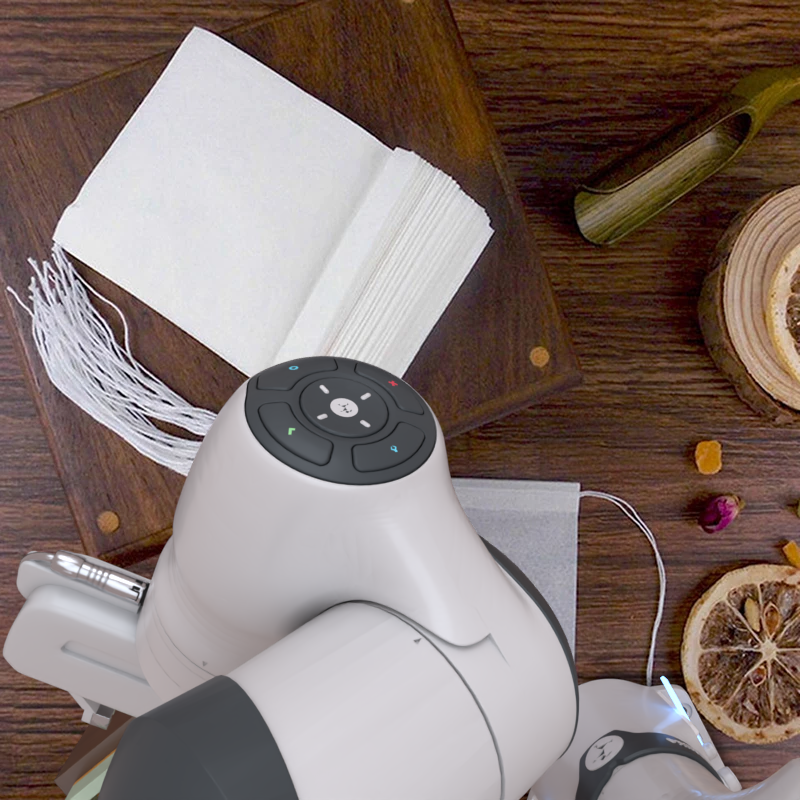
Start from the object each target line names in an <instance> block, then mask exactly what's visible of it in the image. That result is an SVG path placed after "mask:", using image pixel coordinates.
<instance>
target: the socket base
mask: <svg viewBox="0 0 800 800" xmlns="http://www.w3.org/2000/svg"><path fill="white" fill-rule="evenodd" d="M115 751H116V749H115V750H114V751H113V752H111V753H110V754H109V755H108V756H106V757H105V758H104V759H103V760H101V761H100V762H99V763H98V764H97V765H95V766H94V767H93V768H92V769H90V770H89V771H88V772H87V773H86V774H84V775H83V776H82V777H81V778H79V779H78V780H77V781H76V782H75V783H74V785H73V787H72V788H71V790H70V792H69V794H68V795H67V796H66V797H65V798H64V800H97V799H98V796H99V793H100V790H101V786H102V783H103V780H104V778H105V775H106V772H107V770H108V767H109V765H110V762H111V760H112V758H113V755H114V753H115Z"/></svg>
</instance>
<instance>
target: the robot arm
mask: <svg viewBox="0 0 800 800" xmlns="http://www.w3.org/2000/svg"><path fill="white" fill-rule="evenodd" d="M449 467H450V466H449V460H448V453H447V447H446V441H445V436H444V432H443V429H442V427H441V424H440V421H439V419H438V418H437V416H436V414H435V412H434V411H433V409H432V407H431V406H430V405H429V403H428V402H427V401H426V400H425V398H424V397H423V396H422V395H421V394H420V393H419V392H418V391H416V389H414V388H413V387H412V386H411V385H410V384H409V383H408V382H407V381H405V380H403V379H402V378H400V377H399V376H397V375H395V374H394V373H392V372H390V371H389V370H386V369H384V368H382V367H380V366H377V365H375V364H373V363H368V362H365V361H362V360H358V359H354V358H349V357H343V356H334V355H316V356H315V355H313V356H305V357H304V356H303V357H298V358H293V359H289V360H287V361H284V362H280V363H277V364H274V365H272V366H269V367H266V368H265V369H262V370H260V371H258V372H257V373H255V374H254V375H252V376H251V377H249V378H248V379H246V380H245V381H244V382H243V383H242V384H241V385H240V386H239V387H238V388H237V389H236V390H235V391H234V392H233V394H232V395H231V396H230V397H229V399H228V400H227V401H226V402H225V403H224V404H223V406H222V408H220V410H219V412H218V413H217V415H216V417H215V418H214V420H213V422H212V423H211V425H210V426H209V428H208V430H207V431H206V434H205V436H204V437H203V440H202V442H201V443H200V446H199V448H198V450H197V452H196V453H195V456H194V458H193V460H192V463H191V465H190V468H189V470H188V473H187V475H186V477H185V480H184V483H183V486H182V489H181V492H180V495H179V498H178V500H177V504H176V508H175V511H174V516H173V521H172V522H173V523H172V534H171V536H169V538H168V540H167V542H166V543H165V545H164V547H163V549H162V551H161V553H160V554H159V557H158V560H157V562H156V565H155V568H154V571H153V574H152V577H151V579H150V578H146V577H144V576H141V575H140V574H137V573H135V572H132V571H129V570H127V569H125V568H122V567H119V566H117V565H114V564H112V563H109V562H106V561H104V560H101V559H100V558H98V557H97V558H96V557H93V556H90V555H86V554H83V553H77V552H74V551H70V550H65V549H58V550H57V551H56V552H55V553H52V552H46V551H37V550H31V551H29V552H27V554H25V555H24V556H23V557H22V558H21V559H20V561H19V563H18V570H17V577H16V587H17V589H18V590H17V591H19V594H21V596H22V597H23V598H24V599H25V601H24V603H23V605H22V607H21V608H20V610H19V612H18V613H17V615H16V617H15V618H14V620H13V622H12V624H11V626H10V629H9V631H8V633H7V635H6V637H5V641H4V643H3V644H4V645H3V648H2V656H3V658H4V660H5V661H6V662H7V663H8V664H9V665H10V666H11V667H12V669H13V670H14V671H16V672H18V673H19V674H20V675H21V674H22V675H24V676H26V677H28V678H31V679H34V680H37V681H39V682H42V683H45V684H47V685H50V686H53V687H55V688H58V689H60V690H63V691H65V692H68V693H69V695H70V696H71V697H72V698H73V700H74V701H75V702H76V703H77V704H78V706H79V707H80V708H81V709H82V710H83V714H82V716H81V722H83V723H87V724H88V725H89V724H91V725H94V726H97V727H99V728H102V729H105V730H106V729H107V728H108V726H109V723H110V721H111V719H112V715H114V713H115V710H118V711H121V712H123V713H126V714H128V715H131V716H134V717H136V718H135V719H133V720H132V721H131V722H130V723H129V725H128V726H127V728H126V730H125V732H124V734H123V736H122V738H121V740H120V742H119V744H118V746H117V748H116V751H115V753H114V755H113V758H112V760H111V762H110V765H109V767H108V770H107V772H106V775H105V778H104V780H103V783H102V786H101V790H100V793H99V796H98V799H97V800H520V799H521V798H522V797H524V795H525V794H526V793H528V795H527V798H526V800H800V757H797V758H792V759H789V761H787V762H786V763H785V764H784V765H782V767H780V768H779V769H778V770H776V771H775V772H774V773H773V774H771V775H770V776H769V777H767V778H765V779H764V780H762V781H760V782H758V783H757V784H754V785H751V786H749V787H746V788H744V789H743V787H742V784H741V782H740V781H739V779H738V778H737V776H736V775H735V773H734V772H733V771H732V769H731V768H730V767H729V766H727V765H726V766H725V763H724V762H723V760H722V758H721V756H720V754H719V752H718V749H717V748H716V746H715V744H714V743H713V740H712V737H711V736H710V734H709V732H708V731H707V728H706V726H705V725H704V723H703V721H702V719H701V716H700V715H699V713H698V710H697V708H696V707H695V705H694V703H693V701H692V699H691V697H690V695H689V694H688V693H687V691H686V690H685V689H684V688H683V687H682V686H681V685H678V684H673V683H672V684H671V683H670V681H669V680H668V679H667V678H666V677H665V676H664V675H662V676H661V677H660V680H661V682H662V684H660V685H652V686H647V685H643V684H639V683H636V682H633V681H629V680H625V679H620V678H619V679H618V678H600V679H594V680H590V681H586V682H583V683H581V684H579V678H578V673H577V667H576V663H575V660H574V656H573V652H572V649H571V647H570V643H569V640H568V638H567V635H566V633H565V631H564V628H563V627H562V625H561V623H560V621H559V619H558V617H557V616H556V614H555V612H554V611H553V609H552V607H551V605H550V604H549V602H548V601H547V600H546V598H545V597H544V596H543V594H542V593H541V591H539V589H538V588H537V586H536V585H535V584H534V583H533V582H532V581H531V580H530V578H529V577H528V576H527V575H526V574H525V573H524V572H523V571H522V570H521V568H520V567H519V566H517V564H516V563H515V562H513V560H511V558H509V557H508V556H507V555H506V554H505V553H503V551H501V550H500V549H499V548H497V547H496V546H495V545H493V544H492V543H491V542H489V541H488V540H487V539H486V538H484V537H483V536H481V535H480V534H479V533H478V532H477V531H476V529H475V527H474V525H473V523H471V520H470V519H469V517H468V515H467V513H466V511H465V510H464V508H463V506H462V503H461V502H460V500H459V497H458V495H457V493H456V490H455V488H454V484H453V481H452V480H453V479H452V477H451V473H450V468H449Z"/></svg>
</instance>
